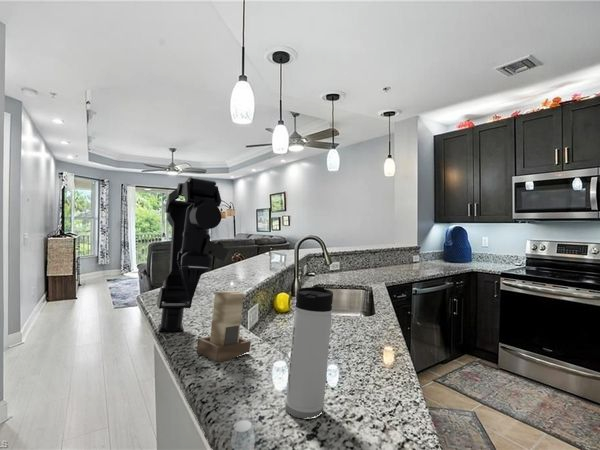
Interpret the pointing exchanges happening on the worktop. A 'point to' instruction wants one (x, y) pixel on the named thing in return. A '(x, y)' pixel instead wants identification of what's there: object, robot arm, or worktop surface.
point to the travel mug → (309, 352)
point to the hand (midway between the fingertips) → (188, 293)
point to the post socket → (222, 349)
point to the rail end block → (226, 318)
